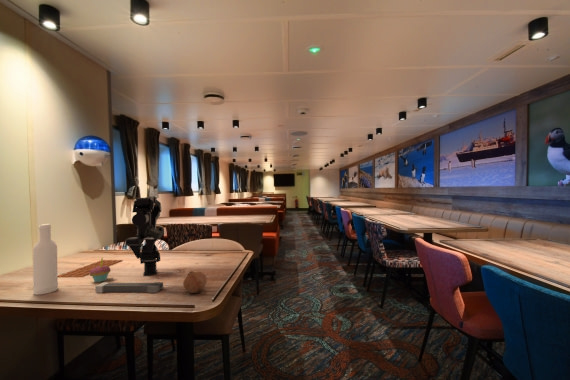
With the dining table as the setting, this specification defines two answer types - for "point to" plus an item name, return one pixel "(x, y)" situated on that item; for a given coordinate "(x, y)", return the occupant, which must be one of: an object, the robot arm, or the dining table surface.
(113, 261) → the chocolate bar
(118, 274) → the dining table surface
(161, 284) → the arm
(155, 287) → the tongs base
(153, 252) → the robot arm
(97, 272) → the cupcake
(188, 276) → the tan round lump
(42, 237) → the bottle
